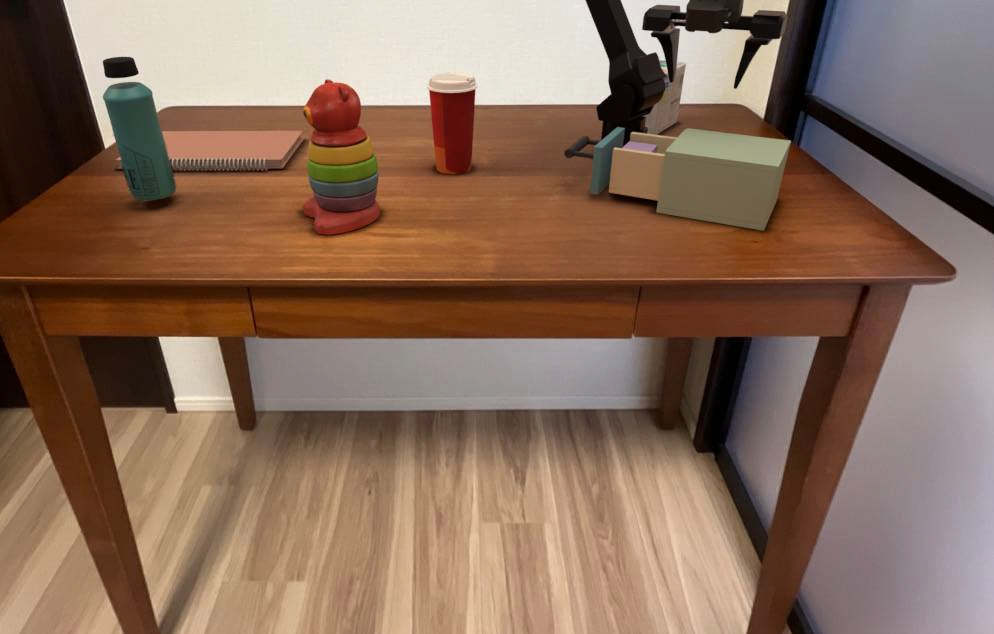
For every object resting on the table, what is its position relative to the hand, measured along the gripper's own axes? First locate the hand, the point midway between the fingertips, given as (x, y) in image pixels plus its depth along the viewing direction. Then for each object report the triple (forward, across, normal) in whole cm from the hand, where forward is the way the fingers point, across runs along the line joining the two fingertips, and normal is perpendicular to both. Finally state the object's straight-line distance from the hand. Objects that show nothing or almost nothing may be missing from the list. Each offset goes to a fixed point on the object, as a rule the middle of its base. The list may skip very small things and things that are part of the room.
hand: (703, 85), depth 105 cm
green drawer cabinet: (+13, +7, -13) cm, 20 cm away
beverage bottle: (+13, -66, -47) cm, 82 cm away
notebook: (+13, -74, -27) cm, 80 cm away
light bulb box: (+13, -12, +21) cm, 28 cm away
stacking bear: (+13, -38, -39) cm, 56 cm away
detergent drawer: (+12, -6, -13) cm, 19 cm away
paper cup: (+13, -34, -15) cm, 39 cm away
